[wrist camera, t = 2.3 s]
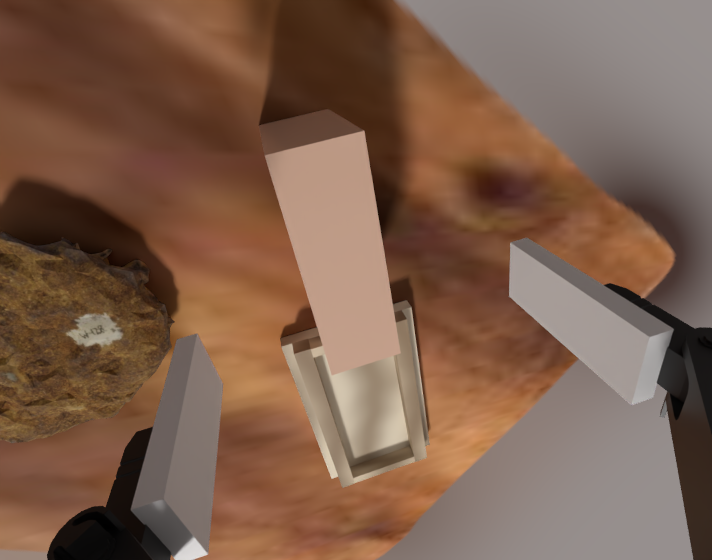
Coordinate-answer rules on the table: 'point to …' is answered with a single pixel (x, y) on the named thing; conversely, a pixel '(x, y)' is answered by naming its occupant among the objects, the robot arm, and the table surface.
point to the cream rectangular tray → (363, 404)
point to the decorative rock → (72, 336)
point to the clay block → (334, 233)
